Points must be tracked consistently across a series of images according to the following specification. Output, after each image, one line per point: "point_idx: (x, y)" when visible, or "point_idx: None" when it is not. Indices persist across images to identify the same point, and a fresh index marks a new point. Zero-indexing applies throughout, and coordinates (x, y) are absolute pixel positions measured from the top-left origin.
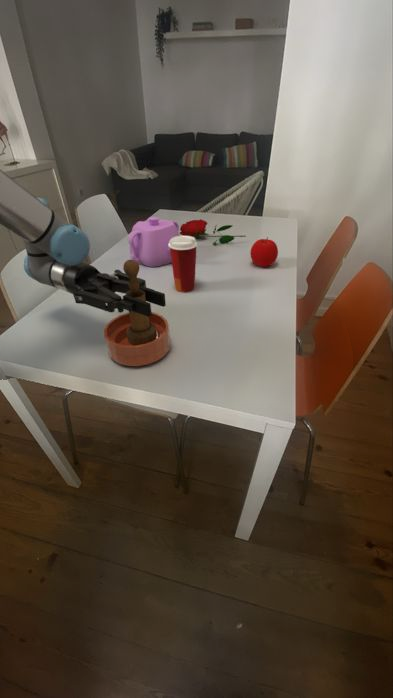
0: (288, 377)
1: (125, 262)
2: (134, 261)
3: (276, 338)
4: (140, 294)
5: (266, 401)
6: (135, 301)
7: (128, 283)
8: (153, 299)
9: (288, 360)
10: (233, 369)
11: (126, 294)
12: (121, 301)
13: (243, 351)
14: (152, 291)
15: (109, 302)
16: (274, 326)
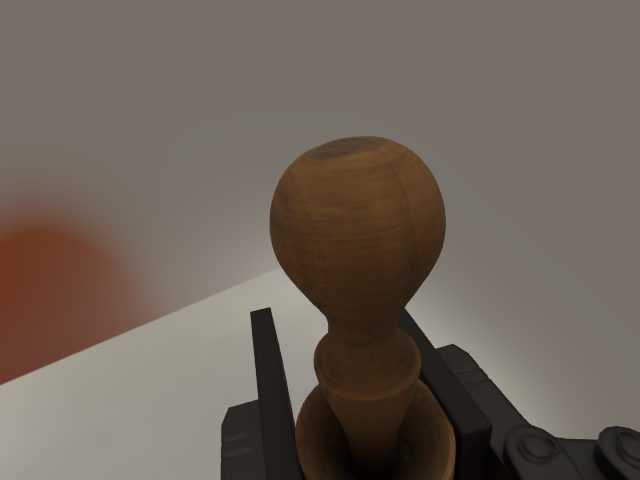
0: (209, 299)
1: (407, 156)
2: (318, 147)
3: (80, 371)
4: (326, 449)
5: (282, 287)
6: (422, 335)
7: (415, 358)
8: (287, 391)
9: (160, 320)
10: (245, 356)
11: (444, 463)
12: (510, 416)
13: (168, 383)
14: (272, 360)
15: (628, 435)
16: (12, 406)
